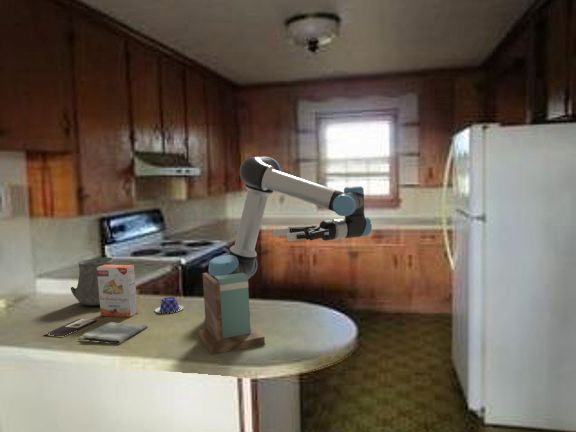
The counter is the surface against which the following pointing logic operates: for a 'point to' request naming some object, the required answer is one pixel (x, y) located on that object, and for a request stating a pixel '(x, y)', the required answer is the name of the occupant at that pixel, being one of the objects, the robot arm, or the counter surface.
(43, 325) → the counter surface
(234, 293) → the book
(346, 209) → the robot arm
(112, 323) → the dish towel
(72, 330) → the chocolate bar
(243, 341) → the brown angled piece
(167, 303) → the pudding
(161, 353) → the counter surface
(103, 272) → the cracker box
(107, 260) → the vessel
